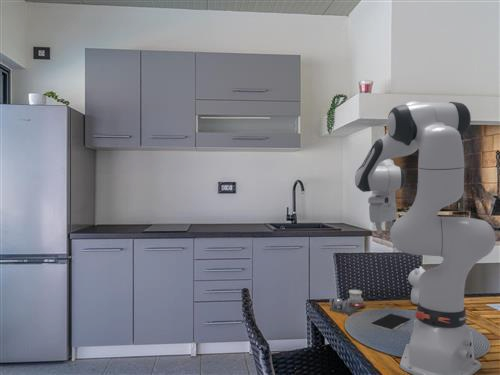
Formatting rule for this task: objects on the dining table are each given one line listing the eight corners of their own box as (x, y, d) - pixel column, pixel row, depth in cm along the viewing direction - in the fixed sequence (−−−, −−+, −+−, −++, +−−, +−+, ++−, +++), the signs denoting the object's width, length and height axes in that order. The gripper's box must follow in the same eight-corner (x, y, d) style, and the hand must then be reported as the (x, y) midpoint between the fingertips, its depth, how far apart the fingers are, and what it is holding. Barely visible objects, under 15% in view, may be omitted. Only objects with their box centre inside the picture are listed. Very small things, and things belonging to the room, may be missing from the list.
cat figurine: (412, 299, 154) (411, 264, 154) (445, 305, 146) (444, 267, 146) (405, 304, 147) (404, 267, 148) (438, 311, 139) (437, 271, 139)
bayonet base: (351, 315, 135) (351, 304, 135) (326, 309, 142) (326, 299, 142) (367, 306, 145) (367, 296, 145) (343, 301, 152) (343, 291, 152)
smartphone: (412, 318, 129) (392, 329, 119) (412, 322, 129) (392, 333, 119) (390, 313, 135) (370, 323, 125) (390, 316, 135) (370, 326, 125)
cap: (350, 305, 142) (350, 293, 142) (345, 301, 147) (345, 289, 147) (365, 304, 143) (365, 292, 143) (359, 300, 148) (359, 289, 148)
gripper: (385, 198, 159) (385, 229, 159) (366, 199, 144) (366, 234, 144) (400, 198, 155) (400, 230, 155) (382, 199, 140) (382, 235, 140)
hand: (384, 232), depth 149 cm, fingers open, 8 cm apart
